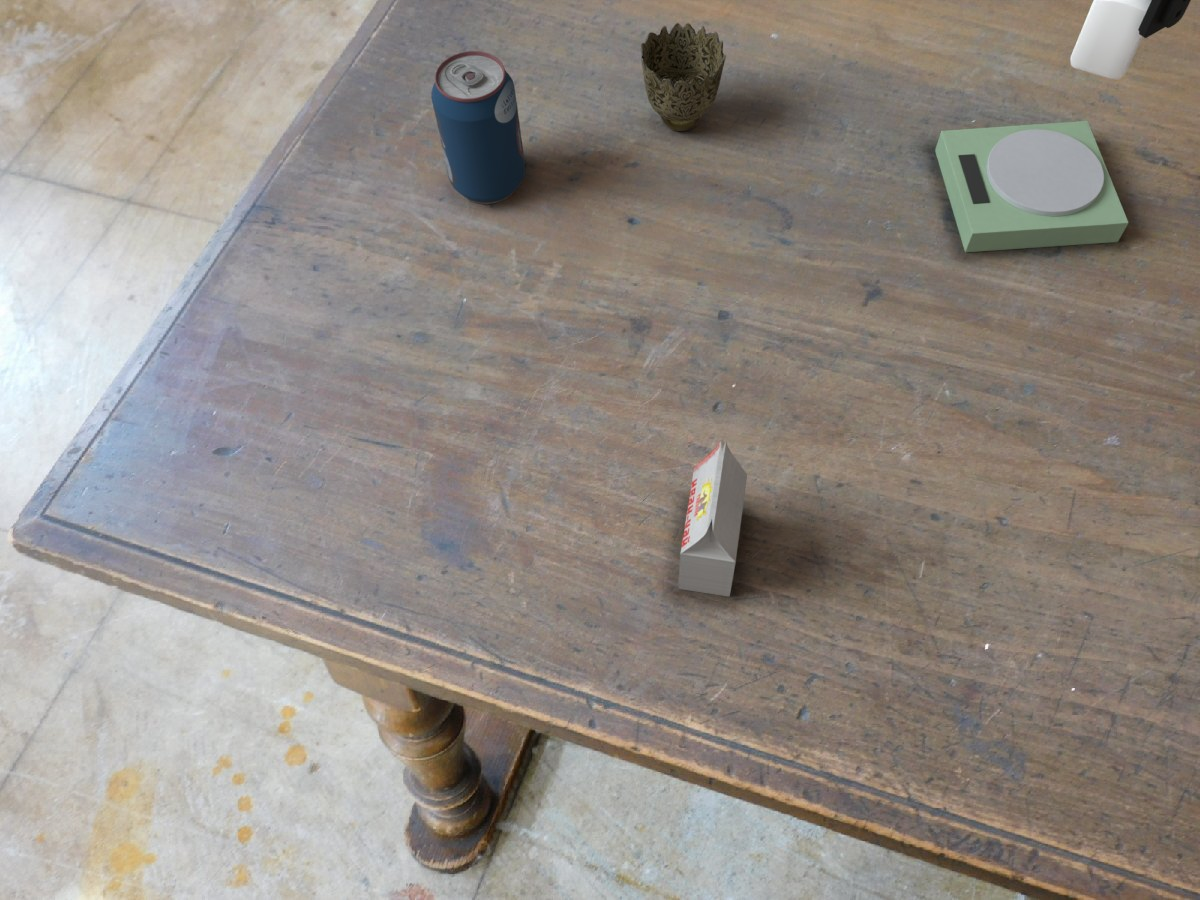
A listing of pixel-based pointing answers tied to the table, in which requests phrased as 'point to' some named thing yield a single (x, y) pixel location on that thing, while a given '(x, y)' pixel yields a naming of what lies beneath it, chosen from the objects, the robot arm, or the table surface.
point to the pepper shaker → (1109, 37)
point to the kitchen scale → (1029, 187)
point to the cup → (682, 73)
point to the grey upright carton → (713, 524)
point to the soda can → (479, 126)
